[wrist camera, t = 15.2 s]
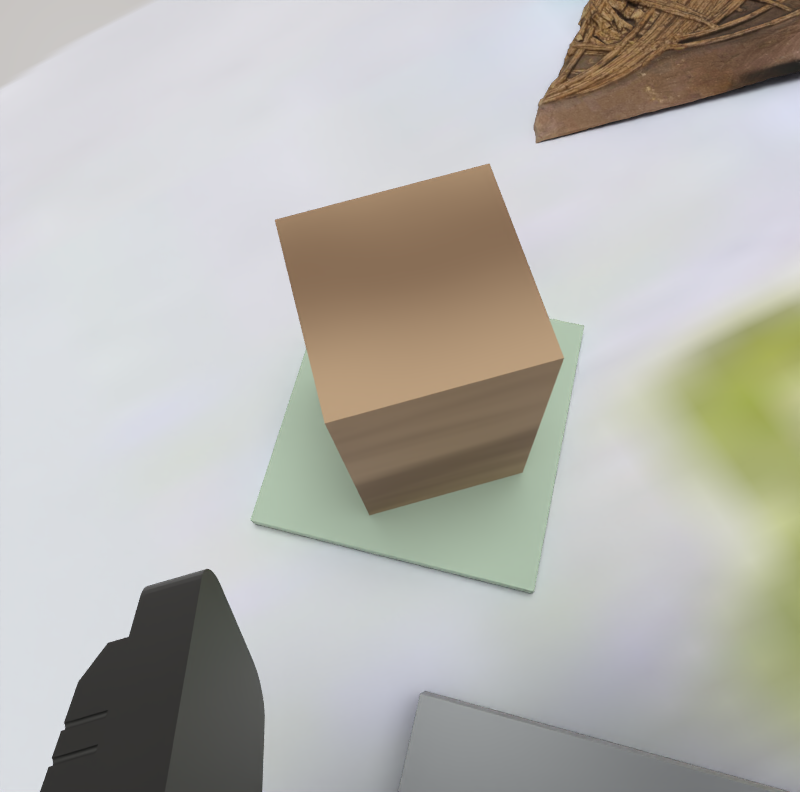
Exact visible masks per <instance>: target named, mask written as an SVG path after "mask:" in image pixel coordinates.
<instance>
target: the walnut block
mask: <svg viewBox="0 0 800 792" xmlns="http://www.w3.org/2000/svg"><path fill="white" fill-rule="evenodd" d="M275 222H276V226H277V230H278V235H279V239H280V243H281V247H282V251H283V255H284V259H285V263H286V267H287V271H288V275H289V280H290V284H291V288H292V292H293V296H294V300H295V304H296V308H297V312H298V316H299V320H300V324H301V329H302V333H303V337H304V341H305V345H306V349H307V353H308V357H309V361H310V365H311V369H312V374H313V378H314V382H315V386H316V390H317V394H318V398H319V402H320V406H321V410H322V414H323V419H324V423H325V425H326V427H327V429H328V431H329V433H330V435H331V437H332V439H333V441H334V444H335V446H336V448H337V450H338V452H339V454H340V456H341V458H342V460H343V462H344V464H345V466H346V468H347V470H348V472H349V474H350V476H351V478H352V480H353V483H354V485H355V487H356V489H357V491H358V493H359V495H360V497H361V499H362V501H363V503H364V505H365V507H366V509H367V511H368V513H369V515H373V514H376V513H380V512H383V511H387V510H390V509H394V508H398V507H401V506H405V505H408V504H412V503H416V502H419V501H423V500H426V499H430V498H433V497H437V496H441V495H444V494H448V493H451V492H455V491H459V490H462V489H466V488H469V487H473V486H476V485H480V484H484V483H487V482H491V481H494V480H498V479H502V478H505V477H509V476H512V475H516V474H519V473H523V470H524V467H525V465H526V462H527V459H528V456H529V454H530V451H531V448H532V445H533V443H534V440H535V437H536V434H537V431H538V429H539V426H540V423H541V420H542V418H543V415H544V412H545V409H546V407H547V404H548V401H549V398H550V396H551V393H552V390H553V387H554V385H555V382H556V379H557V376H558V374H559V371H560V368H561V365H562V362H563V360H564V356H563V354H562V351H561V348H560V346H559V343H558V341H557V338H556V335H555V333H554V330H553V328H552V325H551V322H550V320H549V317H548V315H547V312H546V309H545V307H544V304H543V302H542V299H541V296H540V294H539V291H538V289H537V286H536V283H535V281H534V278H533V276H532V273H531V270H530V268H529V265H528V263H527V260H526V257H525V255H524V252H523V250H522V247H521V244H520V242H519V239H518V237H517V234H516V231H515V229H514V226H513V224H512V221H511V218H510V216H509V213H508V211H507V208H506V205H505V203H504V200H503V198H502V195H501V192H500V190H499V187H498V185H497V182H496V179H495V177H494V174H493V172H492V169H491V166H490V164H486V165H482V166H478V167H474V168H471V169H467V170H463V171H459V172H455V173H451V174H448V175H444V176H440V177H436V178H432V179H429V180H425V181H421V182H417V183H413V184H410V185H406V186H402V187H398V188H394V189H391V190H387V191H383V192H379V193H375V194H371V195H368V196H364V197H360V198H356V199H352V200H349V201H345V202H341V203H337V204H333V205H330V206H326V207H322V208H318V209H314V210H311V211H307V212H303V213H299V214H295V215H292V216H288V217H284V218H280V219H276V220H275Z"/></svg>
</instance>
